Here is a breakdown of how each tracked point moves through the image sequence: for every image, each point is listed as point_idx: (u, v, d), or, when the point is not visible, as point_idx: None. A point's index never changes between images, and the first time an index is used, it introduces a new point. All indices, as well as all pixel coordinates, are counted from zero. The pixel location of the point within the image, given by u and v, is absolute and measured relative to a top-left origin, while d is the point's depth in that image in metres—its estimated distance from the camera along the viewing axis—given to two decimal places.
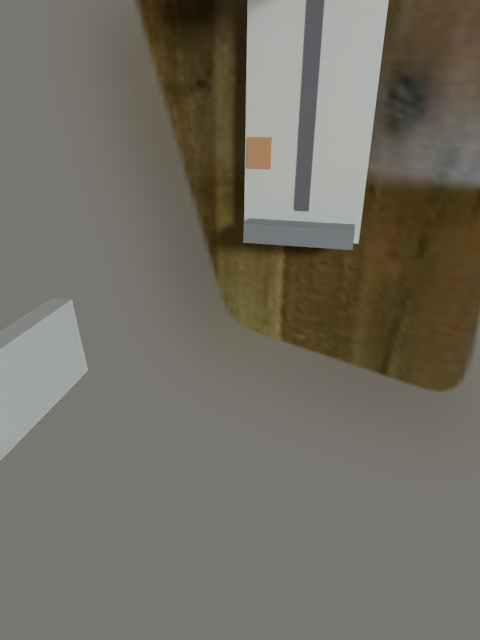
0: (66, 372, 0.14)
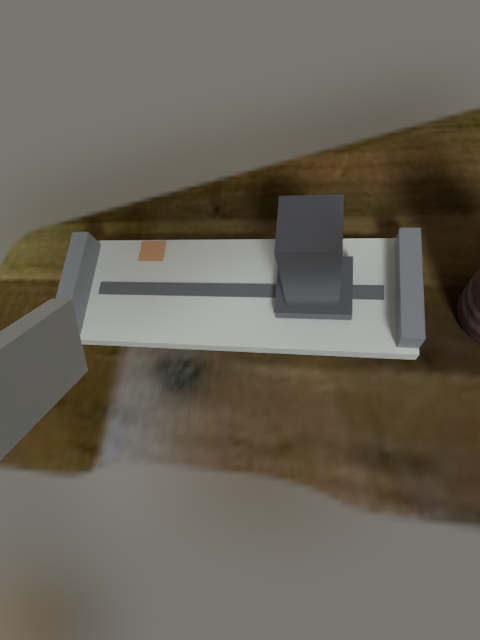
0: (66, 372, 0.14)
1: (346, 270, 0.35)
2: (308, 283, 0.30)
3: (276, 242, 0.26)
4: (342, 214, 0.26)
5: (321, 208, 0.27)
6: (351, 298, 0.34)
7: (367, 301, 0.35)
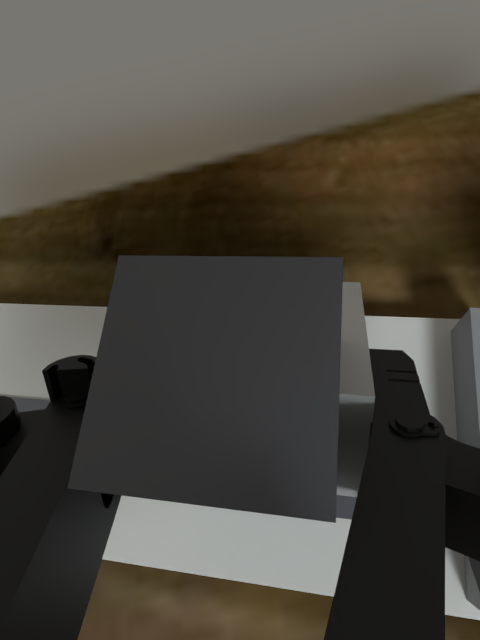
0: None
1: None
2: None
3: (82, 443, 0.07)
4: (336, 340, 0.07)
5: (258, 310, 0.07)
6: None
7: None
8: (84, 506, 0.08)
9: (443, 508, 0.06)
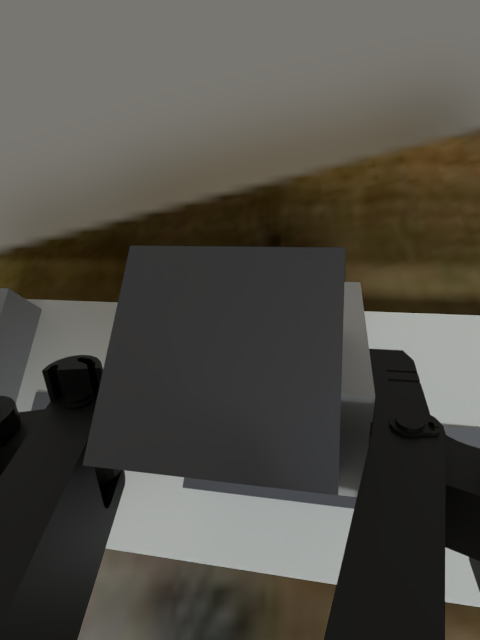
0: None
1: None
2: None
3: (96, 423, 0.07)
4: (339, 326, 0.07)
5: (264, 297, 0.07)
6: None
7: None
8: (84, 506, 0.08)
9: (443, 508, 0.06)
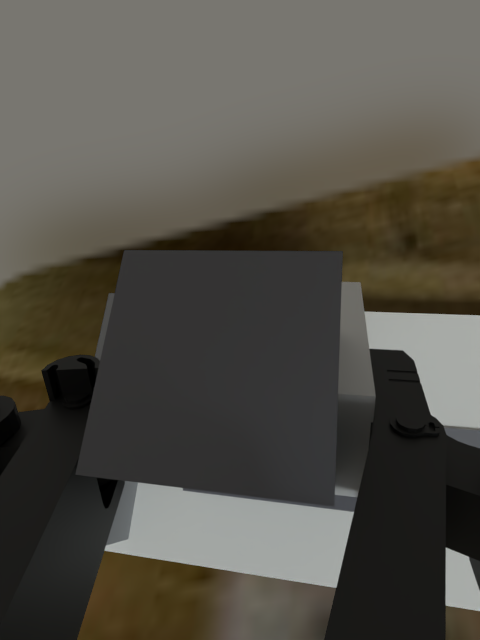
0: None
1: None
2: None
3: (89, 431, 0.07)
4: (336, 332, 0.07)
5: (260, 303, 0.07)
6: None
7: None
8: (84, 506, 0.08)
9: (443, 508, 0.06)
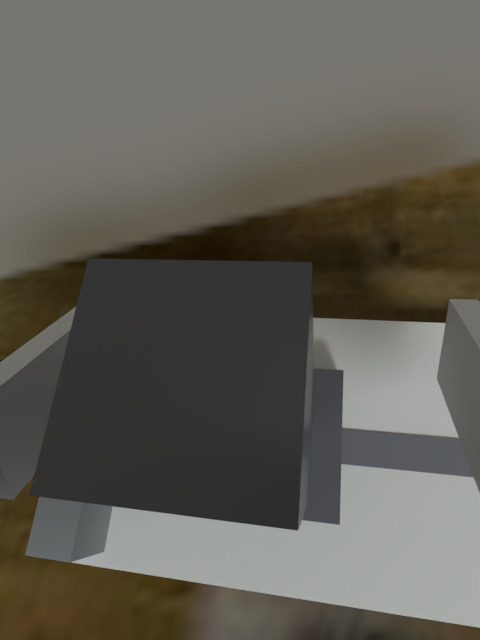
0: None
1: (327, 404, 0.15)
2: None
3: (45, 449, 0.07)
4: (303, 346, 0.07)
5: (226, 315, 0.07)
6: (338, 479, 0.14)
7: None
8: None
9: None
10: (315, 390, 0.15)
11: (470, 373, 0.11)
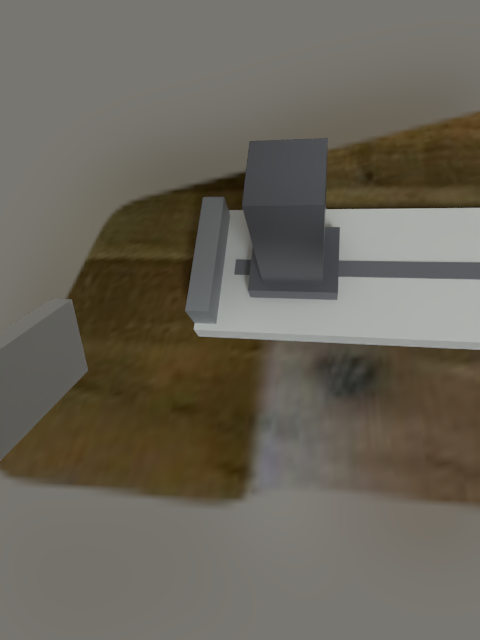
0: (66, 372, 0.14)
1: (332, 242, 0.30)
2: (285, 250, 0.25)
3: (245, 194, 0.22)
4: (325, 161, 0.22)
5: (300, 154, 0.22)
6: (337, 274, 0.29)
7: None
8: None
9: None
10: (325, 236, 0.30)
11: None
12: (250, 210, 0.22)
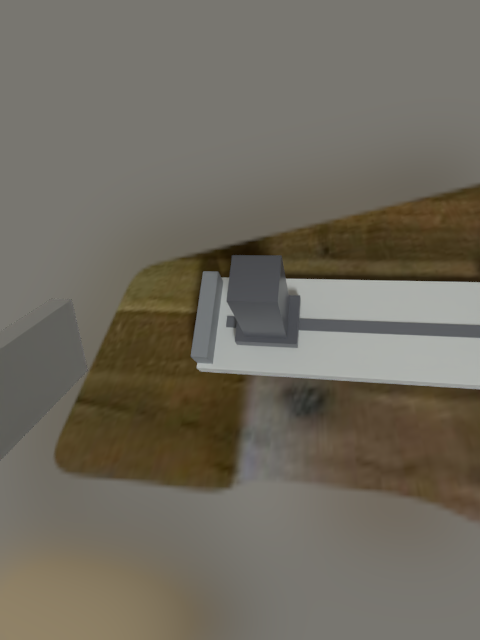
0: (66, 372, 0.14)
1: (294, 307, 0.42)
2: (257, 321, 0.38)
3: (228, 293, 0.34)
4: (279, 272, 0.34)
5: (263, 266, 0.34)
6: (297, 330, 0.41)
7: (479, 339, 0.40)
8: None
9: None
10: (290, 302, 0.43)
11: None
12: (232, 302, 0.34)
